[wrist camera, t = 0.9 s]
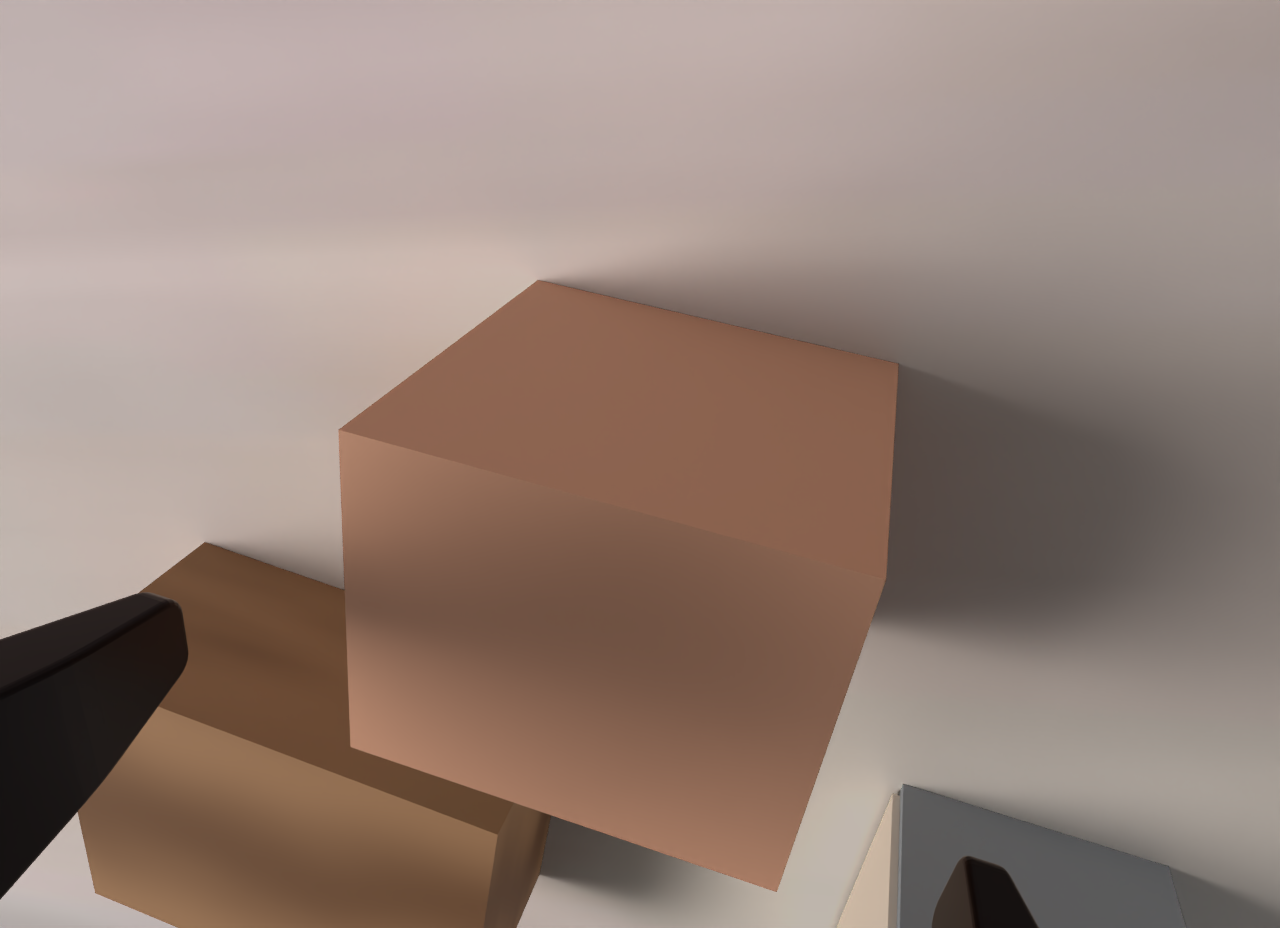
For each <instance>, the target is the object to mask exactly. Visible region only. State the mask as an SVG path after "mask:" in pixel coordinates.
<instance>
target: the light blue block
mask: <svg viewBox="0 0 1280 928" xmlns="http://www.w3.org/2000/svg"><path fill="white" fill-rule="evenodd" d="M963 856H972V857H975V858H978V859H981V860H985V861H988V862H991V863H994V864H997V865H999V866H1002V867H1003V868H1004V869H1005V870H1006V871H1007V872H1008V873H1009V874H1010V876H1011V878H1012V879H1013V881H1014V883H1015V885H1016V887H1017V888H1018V890H1019V892H1020V894H1021V896H1022V898H1023V899H1024V901H1025V903H1026V905H1027V907H1028V909H1029V910H1030V912H1031V914H1032V916H1033V918H1034V919H1035V921H1036V923H1037V925H1038V927H1039V928H1186V926H1185V923H1184V919H1183V915H1182V912H1181V908H1180V905H1179V901H1178V898H1177V894H1176V891H1175V887H1174V884H1173V880H1172V876H1171V873H1170V869H1169V867H1168V866H1165V865H1162V864H1159V863H1156V862H1152V861H1149V860H1146V859H1143V858H1140V857H1136V856H1133V855H1130V854H1127V853H1124V852H1120V851H1117V850H1114V849H1111V848H1108V847H1104V846H1101V845H1098V844H1095V843H1092V842H1088V841H1085V840H1082V839H1079V838H1075V837H1072V836H1069V835H1066V834H1063V833H1059V832H1056V831H1053V830H1050V829H1047V828H1043V827H1040V826H1037V825H1034V824H1031V823H1027V822H1024V821H1021V820H1018V819H1015V818H1011V817H1008V816H1005V815H1002V814H999V813H995V812H992V811H989V810H986V809H983V808H979V807H976V806H973V805H970V804H966V803H963V802H960V801H957V800H954V799H950V798H947V797H944V796H941V795H938V794H934V793H931V792H928V791H925V790H922V789H918V788H915V787H912V786H909V785H906V784H903V786H902V788H901V790H900V793H899V795H896V794H892V796H891V799H890V801H889V803H888V806H887V808H886V811H885V813H884V815H883V818H882V820H881V822H880V825H879V827H878V830H877V832H876V834H875V837H874V839H873V841H872V844H871V846H870V849H869V851H868V853H867V856H866V858H865V861H864V863H863V865H862V868H861V870H860V872H859V875H858V877H857V880H856V882H855V884H854V887H853V889H852V892H851V894H850V896H849V899H848V901H847V903H846V906H845V908H844V911H843V913H842V915H841V918H840V920H839V923H838V925H837V927H836V928H931V927H932V920H933V915H934V911H935V907H936V904H937V902H938V900H939V898H940V896H941V894H942V892H943V890H944V888H945V886H946V884H947V882H948V880H949V878H950V876H951V874H952V872H953V870H954V868H955V866H956V864H957V862H958V861H959V860H960V859H961V858H962V857H963Z"/></svg>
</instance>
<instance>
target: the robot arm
mask: <svg viewBox="0 0 1280 928" xmlns="http://www.w3.org/2000/svg"><path fill="white" fill-rule="evenodd" d="M188 654H189V652H188V644H187V638H186V631H185V624H184V618H183V611H182V608H181V606H180V605H179V603H178V602H177V601H175V600H173V599H170V598H167V597H164V596H161V595H157V594H154V593H150V592H142V593H138V594H134V595H131V596H128V597H125V598H122V599H119V600H116V601H113V602H110V603H108V604H105V605H102V606H99V607H96V608H93V609H90V610H87V611H84V612H81V613H78V614H75V615H72V616H69V617H66V618H63V619H60V620H57V621H54V622H51V623H48V624H45V625H42V626H39V627H36V628H33V629H30V630H27V631H24V632H21V633H18V634H15V635H12V636H9V637H6V638H3V639H0V899H1V898H2V897H3V896H4V895H5V894H6V893H7V891H8V890H9V889H10V888H11V887H12V886H13V885H14V883H15V882H16V881H17V880H18V879H19V878H20V877H21V875H22V874H23V873H24V872H25V871H26V870H27V869H28V867H29V866H30V865H31V864H32V863H33V862H34V861H35V860H36V858H37V857H38V856H39V855H40V854H41V853H42V852H43V850H44V849H45V848H46V847H47V846H48V845H49V844H50V842H51V841H52V840H53V839H54V838H55V837H56V836H57V834H58V833H59V832H60V831H61V830H62V829H63V828H64V827H65V825H66V824H67V823H68V822H69V821H70V820H71V819H72V817H73V816H74V815H75V814H76V813H77V812H78V811H79V809H80V808H81V807H82V806H83V805H84V804H85V803H86V801H87V800H88V799H89V798H90V797H91V795H92V794H93V793H94V792H95V791H96V790H97V788H98V787H99V786H100V785H101V784H102V782H103V781H104V780H105V778H106V777H107V776H108V774H109V773H110V772H111V771H112V769H113V768H114V767H115V765H116V764H117V763H118V761H119V760H120V758H121V757H122V756H123V754H124V753H125V752H126V750H127V749H128V747H129V746H130V745H131V743H132V742H133V741H134V739H135V738H136V736H137V735H138V734H139V732H140V731H141V730H142V728H143V727H144V725H145V724H146V723H147V721H148V720H149V719H150V717H151V716H152V714H153V713H154V712H155V710H156V709H157V708H158V706H159V705H160V703H161V702H162V701H163V699H164V698H165V696H166V695H167V694H168V692H169V691H170V690H171V688H172V687H173V685H174V684H175V683H176V681H177V680H178V679H179V677H180V676H181V674H182V673H183V671H184V669H185V667H186V664H187V661H188ZM931 928H1039V927H1038V925H1037V923H1036V921H1035V919H1034V918H1033V916H1032V914H1031V912H1030V910H1029V909H1028V907H1027V905H1026V903H1025V901H1024V899H1023V898H1022V896H1021V894H1020V892H1019V890H1018V888H1017V887H1016V885H1015V883H1014V881H1013V879H1012V878H1011V876H1010V874H1009V873H1008V872H1007V871H1006V870H1005V869H1004V868H1003V867H1002V866H999V865H997V864H994V863H991V862H988V861H985V860H981V859H978V858H975V857H972V856H963V857H962V858H961V859H960V860H959V861H958V862H957V864H956V866H955V868H954V870H953V872H952V874H951V876H950V878H949V880H948V882H947V884H946V886H945V888H944V890H943V892H942V894H941V896H940V898H939V900H938V902H937V904H936V907H935V911H934V915H933V920H932V927H931Z"/></svg>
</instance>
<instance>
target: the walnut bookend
mask: <svg viewBox="0 0 1280 928" xmlns="http://www.w3.org/2000/svg"><path fill="white" fill-rule="evenodd" d="M142 592H150V593H154V594H157V595H161V596H164V597H167V598H170V599H173V600H175V601H177V602H178V603H179V605H180V606H181V608H182V611H183V618H184V624H185V631H186V638H187V644H188V652H189V654H188V661H187V664H186V667H185V669H184V671H183V673H182V674H181V676H180V677H179V679H178V680H177V681H176V683H175V684H174V685H173V687H172V688H171V690H170V691H169V692H168V694H167V695H166V696H165V698H164V699H163V701H162V702H161V703H160V705H159V706H158V708H157V709H156V710H155V712H154V713H153V714H152V716H151V717H150V719H149V720H148V721H147V723H146V724H145V725H144V727H143V728H142V730H141V731H140V732H139V734H138V735H137V736H136V738H135V739H134V741H133V742H132V743H131V745H130V746H129V747H128V749H127V750H126V752H125V753H124V754H123V756H122V757H121V758H120V760H119V761H118V763H117V764H116V765H115V767H114V768H113V769H112V771H111V772H110V773H109V774H108V776H107V777H106V778H105V780H104V781H103V782H102V784H101V785H100V786H99V787H98V788H97V790H96V791H95V792H94V793H93V794H92V795H91V797H90V798H89V799H88V800H87V801H86V803H85V804H84V805H83V806H82V807H81V808H80V809H79V811H78V816H79V820H80V825H81V829H82V834H83V839H84V843H85V848H86V852H87V857H88V862H89V866H90V871H91V875H92V880H93V885H94V889H95V893H96V894H99V895H101V896H104V897H106V898H108V899H111V900H113V901H116V902H118V903H120V904H123V905H125V906H128V907H130V908H132V909H135V910H137V911H139V912H142V913H144V914H147V915H149V916H151V917H154V918H156V919H159V920H161V921H163V922H166V923H168V924H171V925H173V926H175V927H178V928H516V927H517V925H518V923H519V920H520V918H521V916H522V913H523V911H524V909H525V907H526V904H527V902H528V900H529V897H530V895H531V893H532V890H533V888H534V886H535V883H536V881H537V879H538V876H539V873H540V868H541V863H542V858H543V853H544V848H545V843H546V838H547V833H548V828H549V823H550V818H551V815H549V814H546V813H543V812H540V811H537V810H534V809H531V808H528V807H525V806H522V805H519V804H517V803H514V802H511V801H508V800H505V799H502V798H499V797H496V796H493V795H490V794H487V793H484V792H481V791H478V790H475V789H472V788H470V787H467V786H464V785H461V784H458V783H455V782H452V781H449V780H446V779H443V778H440V777H437V776H434V775H431V774H428V773H425V772H422V771H420V770H417V769H414V768H411V767H408V766H405V765H402V764H399V763H396V762H393V761H390V760H387V759H384V758H381V757H378V756H375V755H372V754H370V753H367V752H364V751H361V750H358V749H355V748H352V747H350V720H349V694H348V667H347V640H346V614H345V590H342V589H339V588H336V587H333V586H330V585H328V584H325V583H322V582H319V581H316V580H313V579H310V578H307V577H304V576H301V575H299V574H296V573H293V572H290V571H287V570H284V569H281V568H278V567H275V566H272V565H270V564H267V563H264V562H261V561H258V560H255V559H252V558H249V557H246V556H243V555H241V554H238V553H235V552H232V551H229V550H226V549H223V548H220V547H217V546H214V545H212V544H209V543H206V542H205V543H203V544H202V545H201V546H199V547H198V548H197V549H195V550H194V551H193V552H191V553H190V554H189V555H188V556H186V557H185V558H184V559H182V560H181V561H180V562H178V563H177V564H176V565H174V566H173V567H172V568H171V569H169V570H168V571H167V572H165V573H164V574H163V575H161V576H160V577H159V578H157V579H156V580H155V581H153V582H152V583H151V584H150V585H148V586H147V587H146V588H144V589H143V590H142V591H140V592H139V593H142Z"/></svg>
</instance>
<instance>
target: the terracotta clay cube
mask: <svg viewBox="0 0 1280 928" xmlns="http://www.w3.org/2000/svg"><path fill="white" fill-rule="evenodd" d="M898 366H899V364H897V363H893V362H889V361H884V360H880V359H876V358H871V357H867V356H863V355H858V354H854V353H850V352H845V351H841V350H837V349H833V348H828V347H824V346H820V345H815V344H811V343H807V342H802V341H798V340H794V339H789V338H785V337H781V336H777V335H772V334H768V333H764V332H759V331H755V330H751V329H746V328H742V327H738V326H734V325H729V324H725V323H721V322H716V321H712V320H708V319H703V318H699V317H695V316H690V315H686V314H682V313H678V312H673V311H669V310H665V309H660V308H656V307H652V306H647V305H643V304H639V303H634V302H630V301H626V300H622V299H617V298H613V297H609V296H604V295H600V294H596V293H591V292H587V291H583V290H578V289H574V288H570V287H566V286H561V285H557V284H553V283H548V282H544V281H540V280H537V281H536V282H535V283H533V284H532V285H531V286H529V287H528V288H527V289H525V290H524V291H523V292H521V293H520V294H519V295H517V296H516V297H515V298H513V299H512V300H511V301H509V302H508V303H507V304H505V305H504V306H503V307H501V308H500V309H499V310H497V311H496V312H495V313H493V314H492V315H491V316H489V317H488V318H487V319H485V320H484V321H483V322H481V323H480V324H479V325H477V326H476V327H475V328H474V329H472V330H471V331H470V332H468V333H467V334H466V335H464V336H463V337H462V338H460V339H459V340H458V341H456V342H455V343H454V344H452V345H451V346H450V347H448V348H447V349H446V350H444V351H443V352H442V353H440V354H439V355H438V356H436V357H435V358H434V359H432V360H431V361H430V362H428V363H427V364H426V365H424V366H423V367H422V368H420V369H419V370H418V371H416V372H415V373H414V374H412V375H411V376H410V377H408V378H407V379H406V380H404V381H403V382H402V383H400V384H399V385H398V386H396V387H395V388H394V389H392V390H391V391H390V392H388V393H387V394H386V395H384V396H383V397H382V398H380V399H379V400H378V401H376V402H375V403H374V404H372V405H371V406H370V407H368V408H367V409H366V410H364V411H363V412H362V413H360V414H359V415H358V416H356V417H355V418H354V419H352V420H351V421H350V422H348V423H347V424H346V425H344V426H343V427H342V428H340V429H339V455H340V481H341V508H342V534H343V561H344V587H345V614H346V640H347V667H348V694H349V720H350V747H352V748H355V749H358V750H361V751H364V752H367V753H370V754H372V755H375V756H378V757H381V758H384V759H387V760H390V761H393V762H396V763H399V764H402V765H405V766H408V767H411V768H414V769H417V770H420V771H422V772H425V773H428V774H431V775H434V776H437V777H440V778H443V779H446V780H449V781H452V782H455V783H458V784H461V785H464V786H467V787H470V788H472V789H475V790H478V791H481V792H484V793H487V794H490V795H493V796H496V797H499V798H502V799H505V800H508V801H511V802H514V803H517V804H519V805H522V806H525V807H528V808H531V809H534V810H537V811H540V812H543V813H546V814H549V815H552V816H555V817H558V818H561V819H564V820H567V821H569V822H572V823H575V824H578V825H581V826H584V827H587V828H590V829H593V830H596V831H599V832H602V833H605V834H608V835H611V836H614V837H616V838H619V839H622V840H625V841H628V842H631V843H634V844H637V845H640V846H643V847H646V848H649V849H652V850H655V851H658V852H661V853H664V854H666V855H669V856H672V857H675V858H678V859H681V860H684V861H687V862H690V863H693V864H696V865H699V866H702V867H705V868H708V869H711V870H713V871H716V872H719V873H722V874H725V875H728V876H731V877H734V878H737V879H740V880H743V881H746V882H749V883H752V884H755V885H758V886H761V887H763V888H766V889H769V890H772V891H775V892H777V890H778V887H779V884H780V881H781V878H782V875H783V872H784V870H785V867H786V864H787V861H788V858H789V855H790V852H791V850H792V847H793V844H794V841H795V838H796V835H797V833H798V830H799V827H800V824H801V821H802V818H803V815H804V813H805V810H806V807H807V804H808V801H809V798H810V795H811V793H812V790H813V787H814V784H815V781H816V778H817V775H818V773H819V770H820V767H821V764H822V761H823V758H824V755H825V753H826V750H827V747H828V744H829V741H830V738H831V736H832V733H833V730H834V727H835V724H836V721H837V718H838V716H839V713H840V710H841V707H842V704H843V701H844V698H845V696H846V693H847V690H848V687H849V684H850V681H851V678H852V676H853V673H854V670H855V667H856V664H857V661H858V659H859V656H860V653H861V650H862V647H863V644H864V641H865V639H866V636H867V633H868V630H869V627H870V624H871V621H872V619H873V616H874V613H875V610H876V607H877V604H878V601H879V599H880V596H881V593H882V590H883V587H884V584H885V582H886V574H887V556H888V539H889V522H890V504H891V487H892V470H893V453H894V435H895V418H896V401H897V384H898Z"/></svg>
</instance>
